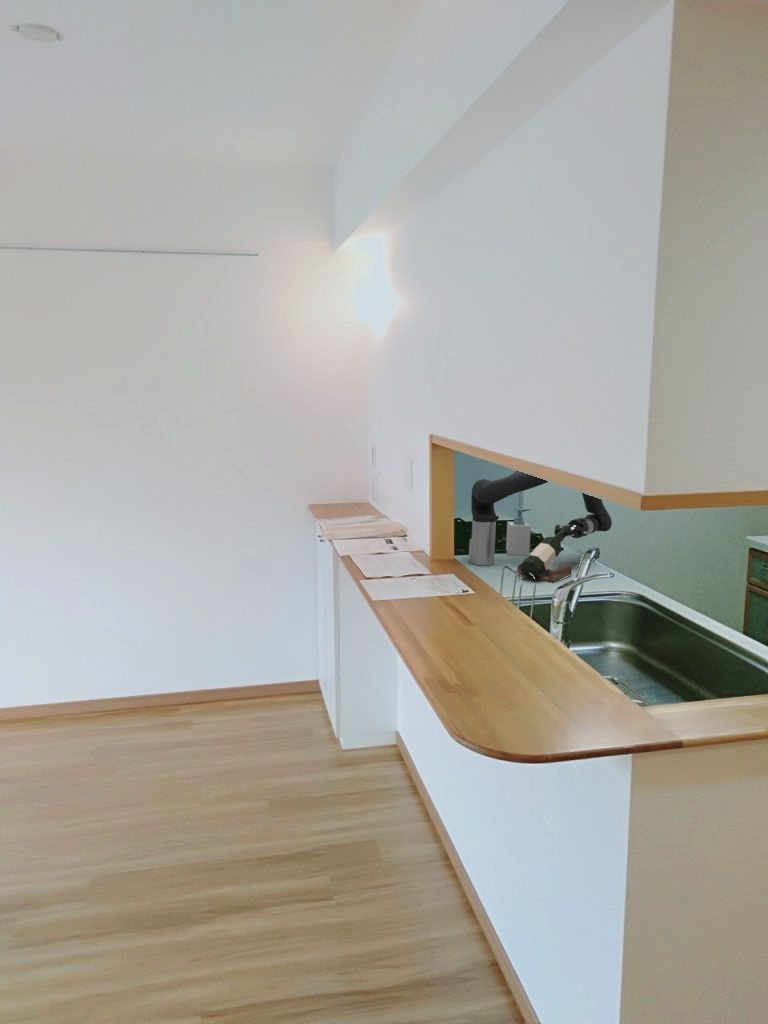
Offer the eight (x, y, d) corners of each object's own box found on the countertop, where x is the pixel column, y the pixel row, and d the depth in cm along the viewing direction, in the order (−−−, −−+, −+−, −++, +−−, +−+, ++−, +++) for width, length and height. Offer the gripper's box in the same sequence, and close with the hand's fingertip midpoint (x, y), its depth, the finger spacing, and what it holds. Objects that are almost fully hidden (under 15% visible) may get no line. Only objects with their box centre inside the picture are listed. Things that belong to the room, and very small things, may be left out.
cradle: (517, 575, 296) (517, 565, 295) (535, 569, 307) (536, 559, 306) (553, 582, 287) (554, 572, 286) (571, 575, 297) (571, 565, 297)
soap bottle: (529, 555, 330) (532, 510, 327) (508, 555, 330) (510, 510, 327) (526, 551, 338) (528, 507, 335) (505, 550, 338) (508, 506, 335)
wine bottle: (537, 583, 290) (574, 540, 308) (542, 568, 284) (579, 525, 303) (517, 572, 293) (555, 530, 312) (522, 557, 287) (560, 515, 306)
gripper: (565, 516, 320) (544, 520, 307) (597, 520, 311) (577, 526, 298) (563, 534, 321) (543, 539, 308) (596, 539, 312) (576, 545, 299)
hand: (560, 533), depth 303 cm, fingers closed on wine bottle, 3 cm apart
